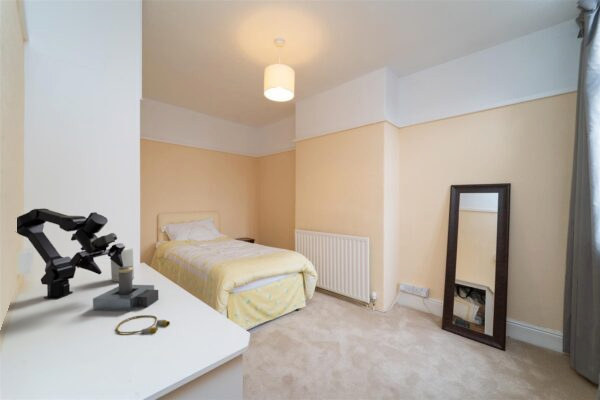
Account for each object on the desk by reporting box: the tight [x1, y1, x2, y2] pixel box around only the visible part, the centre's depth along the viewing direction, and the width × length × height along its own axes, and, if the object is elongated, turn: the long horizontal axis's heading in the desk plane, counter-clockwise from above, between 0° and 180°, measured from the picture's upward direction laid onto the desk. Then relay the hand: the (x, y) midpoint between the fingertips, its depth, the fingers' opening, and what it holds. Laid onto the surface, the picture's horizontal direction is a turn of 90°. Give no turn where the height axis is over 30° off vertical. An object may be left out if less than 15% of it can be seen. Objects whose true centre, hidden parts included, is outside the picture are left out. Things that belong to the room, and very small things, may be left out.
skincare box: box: [110, 247, 135, 283], centre depth 123 cm, size 8×7×16 cm
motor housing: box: [92, 284, 159, 313], centre depth 97 cm, size 18×14×4 cm
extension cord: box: [116, 314, 171, 336], centre depth 80 cm, size 12×16×2 cm
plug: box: [118, 266, 133, 295], centre depth 97 cm, size 5×5×14 cm
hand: (112, 269), depth 98 cm, fingers open, 9 cm apart
